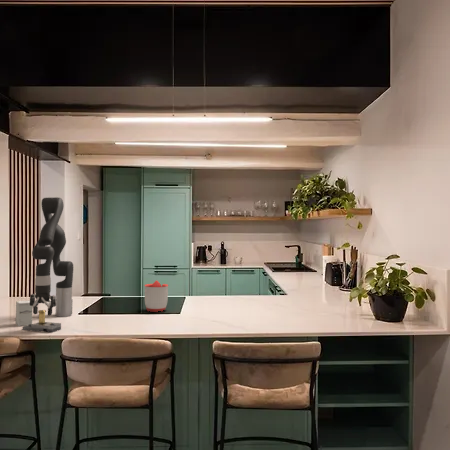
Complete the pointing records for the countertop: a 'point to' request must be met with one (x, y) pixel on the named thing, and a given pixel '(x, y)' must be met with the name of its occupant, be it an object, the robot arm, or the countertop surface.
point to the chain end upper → (48, 326)
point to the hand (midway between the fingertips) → (42, 314)
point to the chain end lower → (32, 328)
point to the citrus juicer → (156, 296)
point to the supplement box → (23, 313)
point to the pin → (41, 317)
